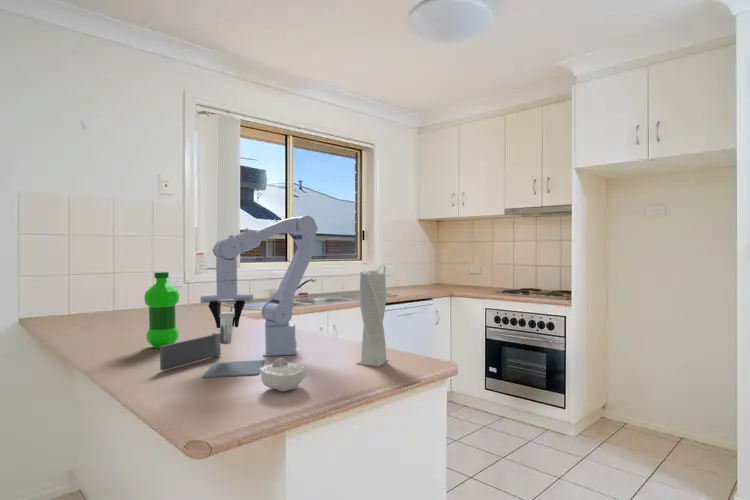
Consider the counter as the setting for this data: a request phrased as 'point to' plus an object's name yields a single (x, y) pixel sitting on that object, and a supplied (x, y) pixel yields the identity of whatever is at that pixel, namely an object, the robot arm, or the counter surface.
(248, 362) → the mat
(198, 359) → the grey rectangular panel
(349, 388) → the counter surface
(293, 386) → the cell model
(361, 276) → the skyscraper
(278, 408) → the counter surface
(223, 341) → the milkshake
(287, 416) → the counter surface
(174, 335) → the plastic bottle
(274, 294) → the robot arm
